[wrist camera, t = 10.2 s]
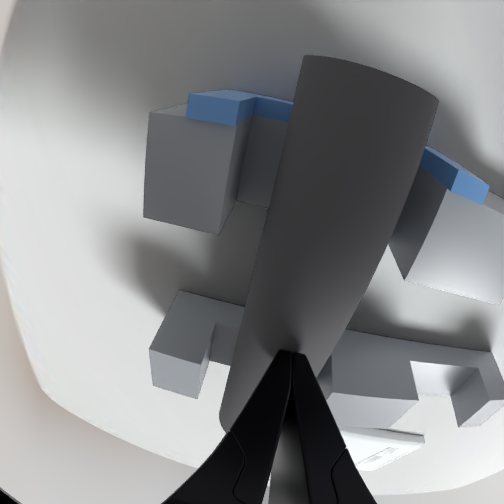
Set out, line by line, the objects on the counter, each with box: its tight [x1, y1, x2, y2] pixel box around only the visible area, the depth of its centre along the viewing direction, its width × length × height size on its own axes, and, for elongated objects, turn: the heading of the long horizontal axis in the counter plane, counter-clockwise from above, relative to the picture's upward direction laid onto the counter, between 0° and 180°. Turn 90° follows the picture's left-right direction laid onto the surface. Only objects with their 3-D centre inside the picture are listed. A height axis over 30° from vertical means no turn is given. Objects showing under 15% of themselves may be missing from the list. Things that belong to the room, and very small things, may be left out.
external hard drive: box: [338, 426, 425, 471], centre depth 22 cm, size 2×8×12 cm
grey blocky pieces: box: [143, 90, 504, 429], centre depth 11 cm, size 20×13×4 cm, turn 79°
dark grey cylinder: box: [219, 55, 439, 433], centre depth 10 cm, size 4×16×4 cm, turn 169°
